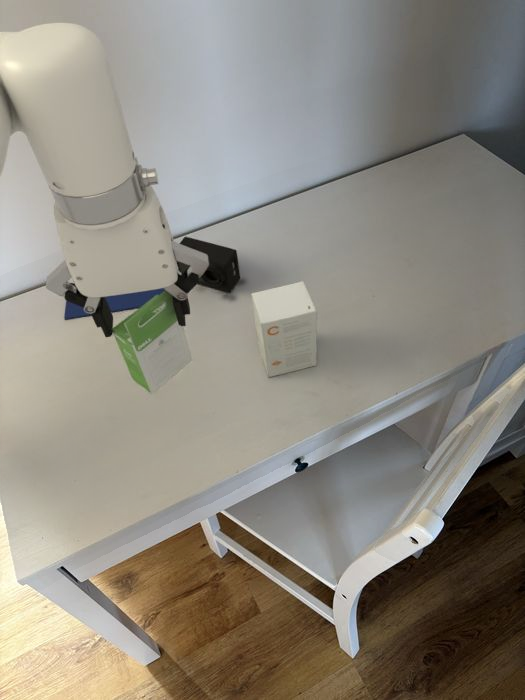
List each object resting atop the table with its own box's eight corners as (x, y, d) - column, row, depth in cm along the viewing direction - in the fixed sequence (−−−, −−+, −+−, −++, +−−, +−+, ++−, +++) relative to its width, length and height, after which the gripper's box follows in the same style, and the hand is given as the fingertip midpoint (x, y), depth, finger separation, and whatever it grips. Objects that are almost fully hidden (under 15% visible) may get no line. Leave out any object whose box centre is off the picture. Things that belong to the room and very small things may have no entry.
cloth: (64, 320, 94) (64, 318, 94) (68, 288, 99) (67, 286, 99) (166, 303, 95) (165, 302, 95) (164, 272, 100) (164, 271, 100)
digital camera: (176, 283, 98) (168, 255, 92) (191, 264, 101) (184, 235, 95) (227, 298, 95) (221, 269, 89) (240, 278, 97) (236, 249, 92)
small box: (305, 336, 88) (304, 279, 78) (317, 366, 84) (317, 310, 74) (257, 348, 87) (250, 292, 77) (267, 378, 83) (261, 324, 73)
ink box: (172, 345, 70) (149, 270, 59) (193, 360, 68) (173, 286, 58) (131, 379, 67) (99, 306, 56) (152, 396, 65) (123, 324, 55)
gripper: (195, 152, 49) (219, 287, 63) (4, 177, 48) (71, 309, 62) (201, 201, 44) (225, 336, 58) (-11, 230, 44) (65, 359, 58)
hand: (145, 321), depth 60 cm, fingers closed on ink box, 7 cm apart
